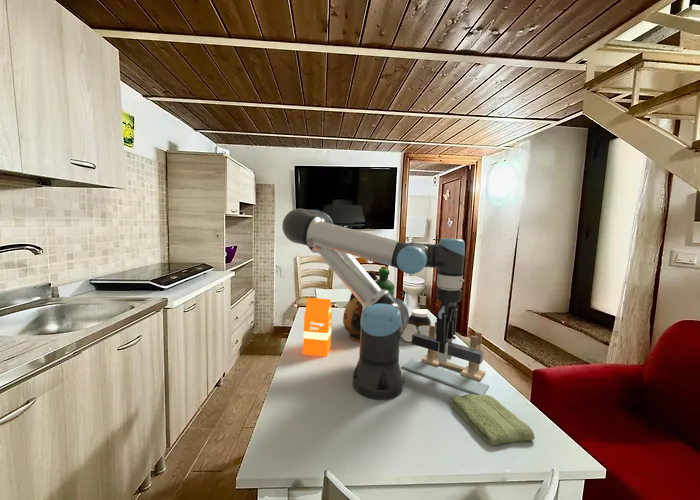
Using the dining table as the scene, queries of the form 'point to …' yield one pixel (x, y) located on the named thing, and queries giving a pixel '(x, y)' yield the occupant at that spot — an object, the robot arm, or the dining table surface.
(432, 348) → the steel bar
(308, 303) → the orange juice
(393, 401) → the dining table surface
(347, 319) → the ceramic jug
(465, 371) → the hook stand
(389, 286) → the bottle
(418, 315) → the spread jar
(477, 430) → the washcloth
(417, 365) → the slate mat
